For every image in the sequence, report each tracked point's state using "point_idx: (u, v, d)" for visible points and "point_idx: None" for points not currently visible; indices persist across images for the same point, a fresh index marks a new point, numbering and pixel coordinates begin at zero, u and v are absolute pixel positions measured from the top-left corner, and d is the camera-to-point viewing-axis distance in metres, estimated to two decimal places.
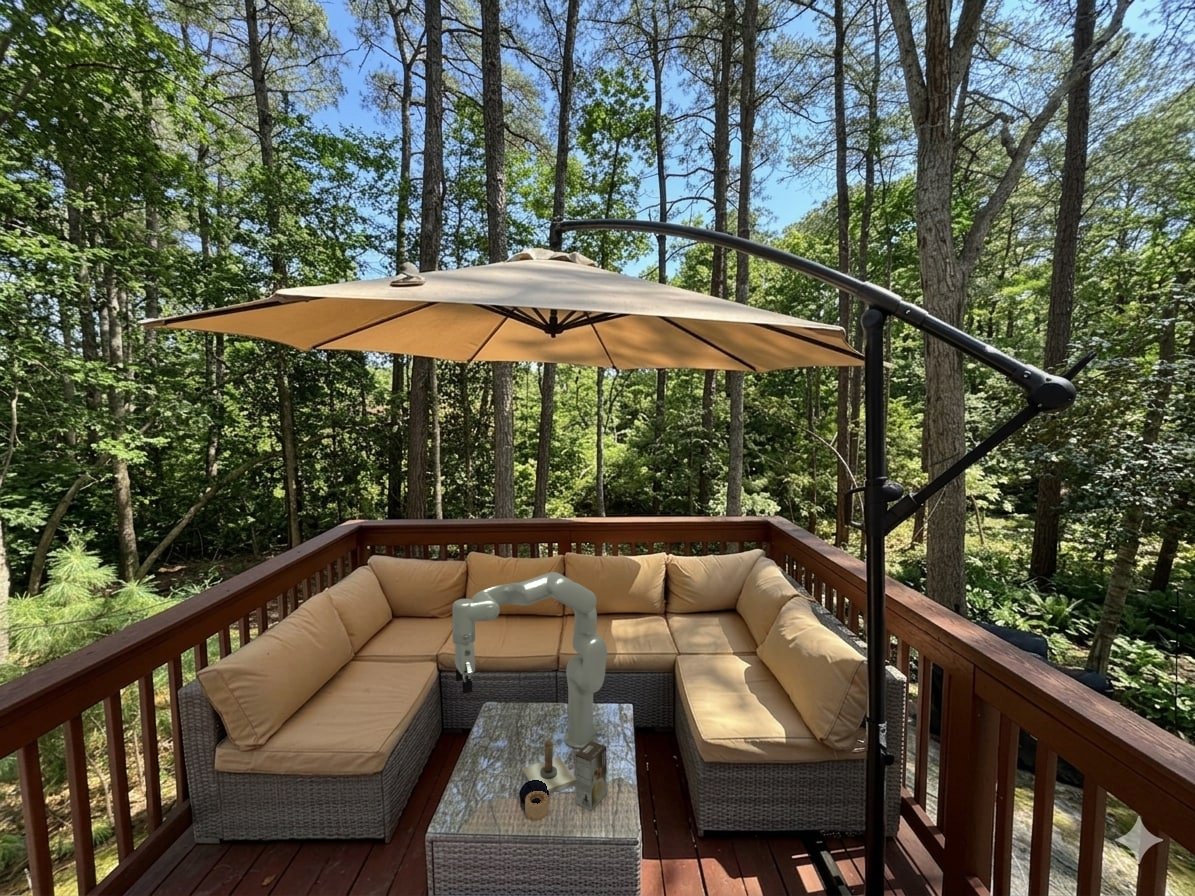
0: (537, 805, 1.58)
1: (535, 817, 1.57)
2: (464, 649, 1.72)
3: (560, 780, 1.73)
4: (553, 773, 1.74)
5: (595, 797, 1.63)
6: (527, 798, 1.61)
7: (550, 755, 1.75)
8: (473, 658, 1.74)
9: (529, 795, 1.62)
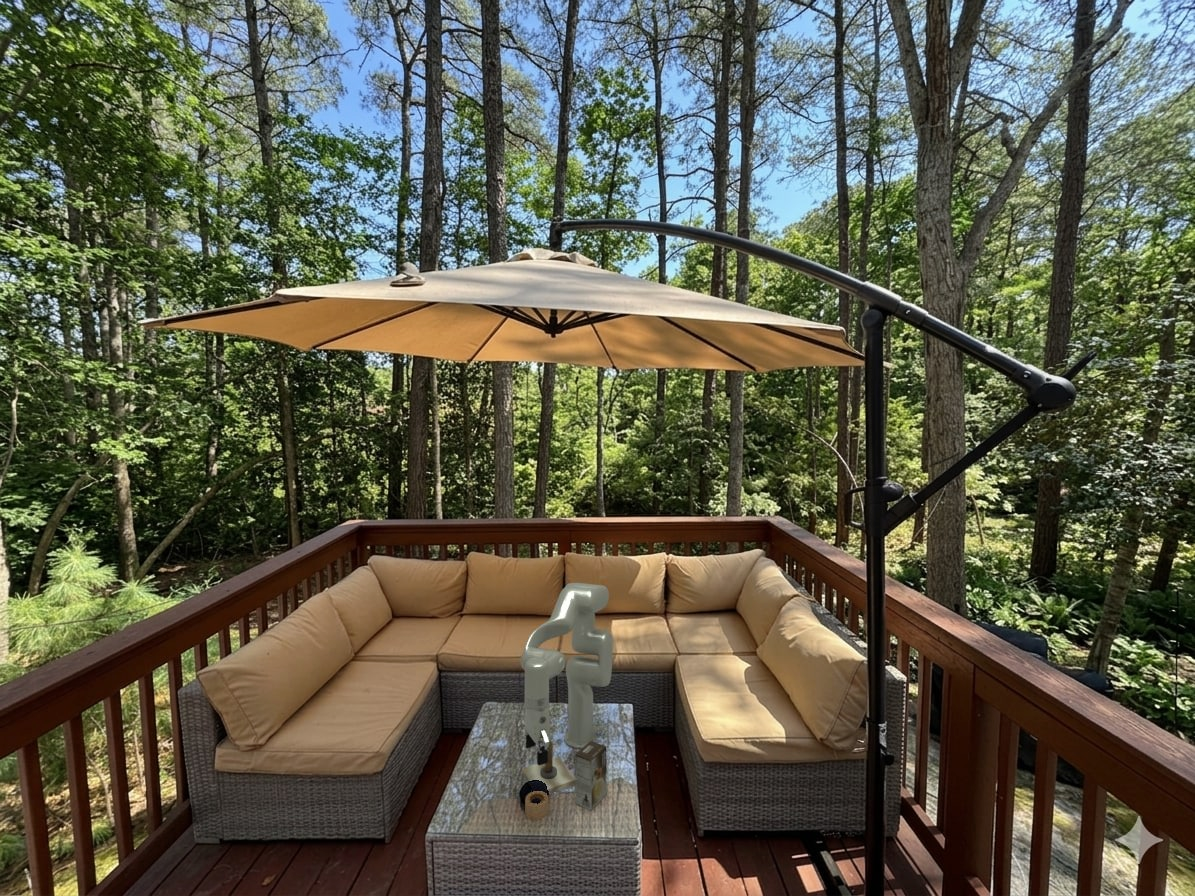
0: (537, 805, 1.58)
1: (535, 817, 1.57)
2: (539, 716, 1.56)
3: (560, 780, 1.73)
4: (553, 773, 1.74)
5: (595, 797, 1.63)
6: (527, 798, 1.61)
7: (550, 755, 1.75)
8: (548, 725, 1.57)
9: (529, 795, 1.62)
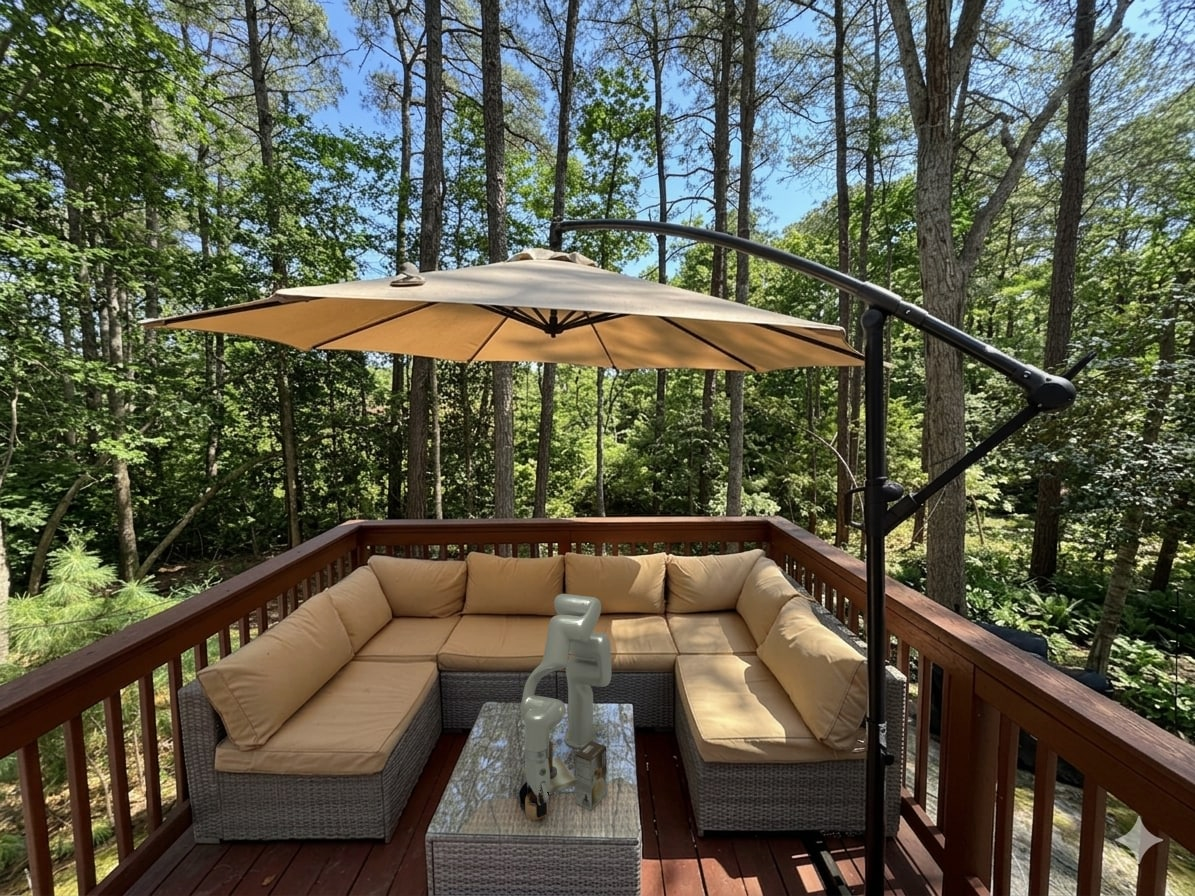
0: None
1: (535, 817, 1.57)
2: (539, 768, 1.56)
3: (560, 780, 1.73)
4: (553, 773, 1.74)
5: (595, 797, 1.63)
6: (527, 798, 1.61)
7: (550, 755, 1.75)
8: (549, 777, 1.57)
9: (529, 795, 1.62)
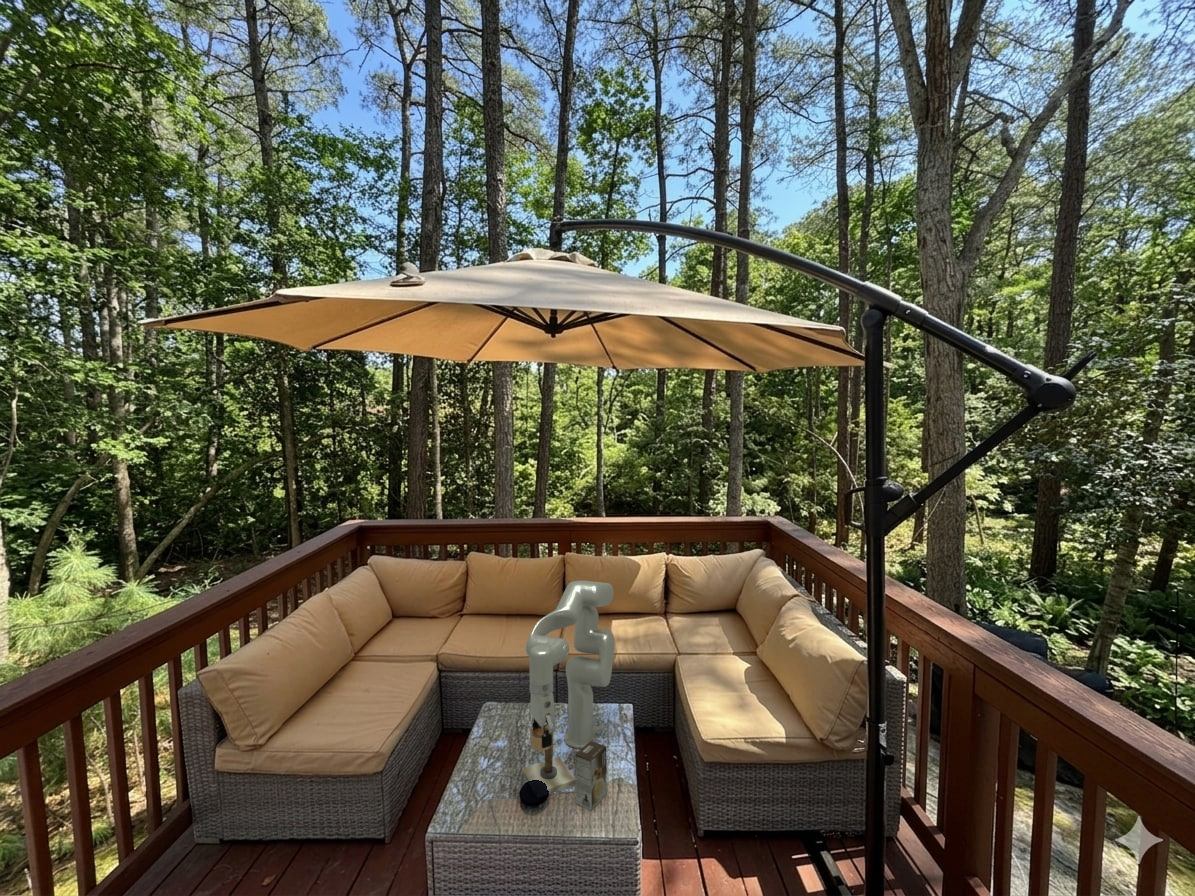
0: None
1: (540, 748, 1.63)
2: (544, 701, 1.61)
3: (560, 780, 1.73)
4: (553, 773, 1.74)
5: (595, 797, 1.63)
6: (532, 731, 1.66)
7: (550, 755, 1.75)
8: (553, 709, 1.63)
9: (534, 729, 1.67)
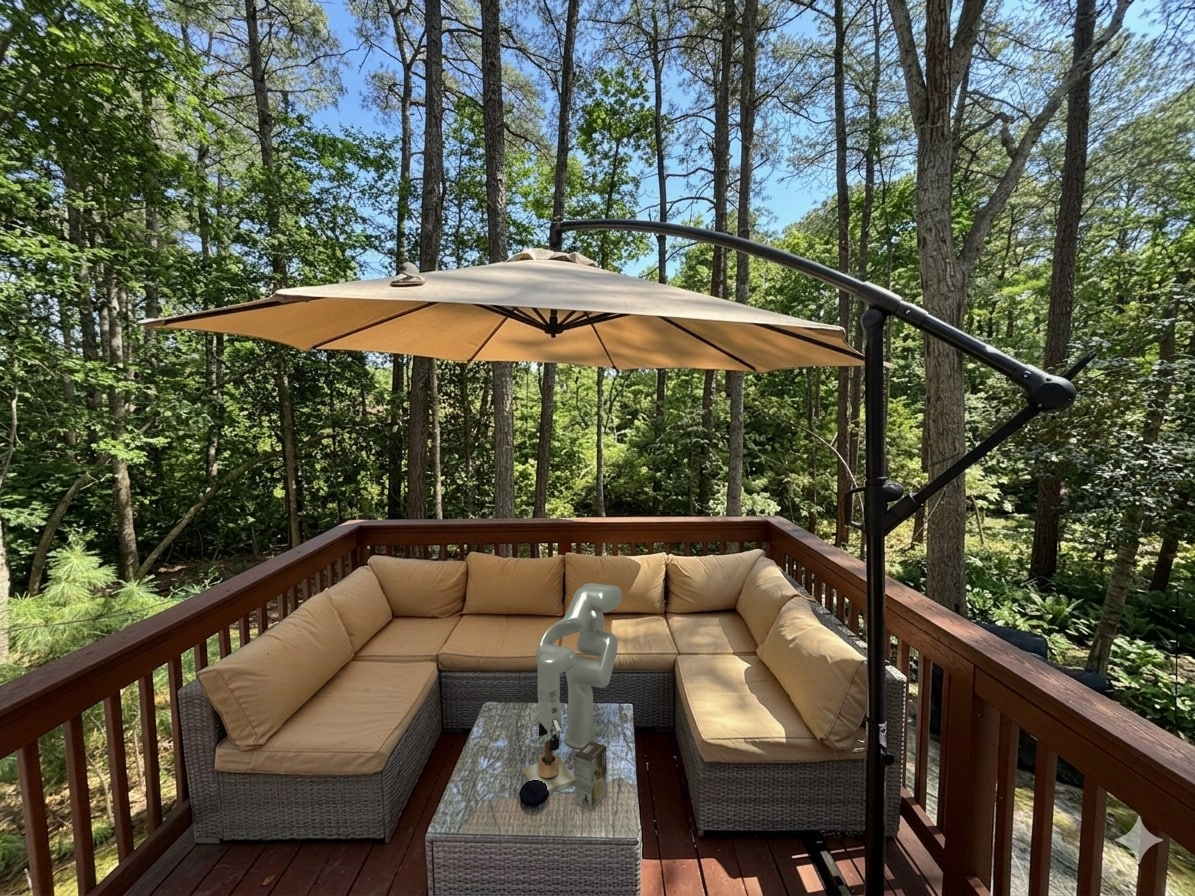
0: (549, 764, 1.73)
1: (547, 775, 1.72)
2: (551, 706, 1.71)
3: (560, 780, 1.73)
4: None
5: (595, 797, 1.63)
6: (540, 759, 1.76)
7: (550, 755, 1.75)
8: (560, 715, 1.72)
9: (541, 756, 1.77)
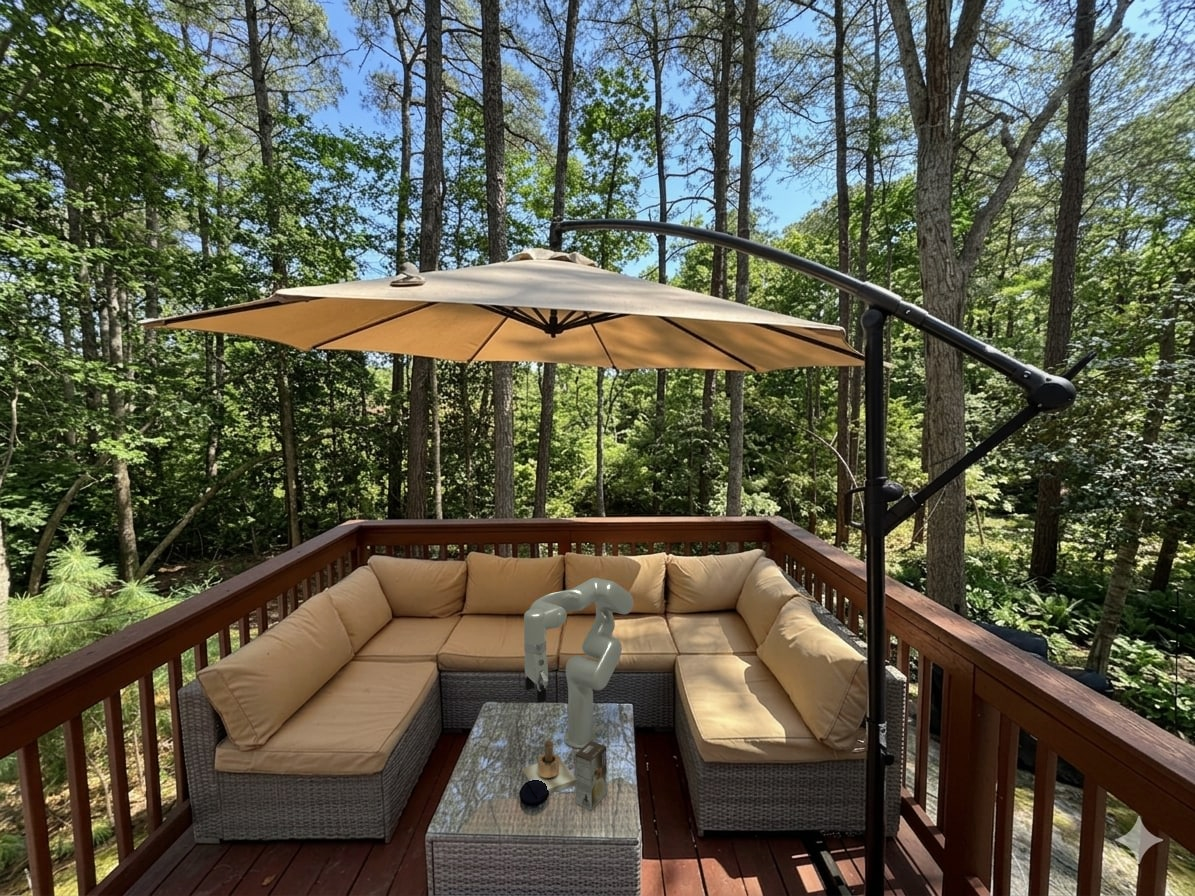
0: (549, 764, 1.73)
1: (547, 775, 1.72)
2: (538, 659, 1.75)
3: (560, 780, 1.73)
4: None
5: (595, 797, 1.63)
6: (540, 759, 1.76)
7: (550, 755, 1.75)
8: (546, 667, 1.76)
9: (541, 756, 1.77)
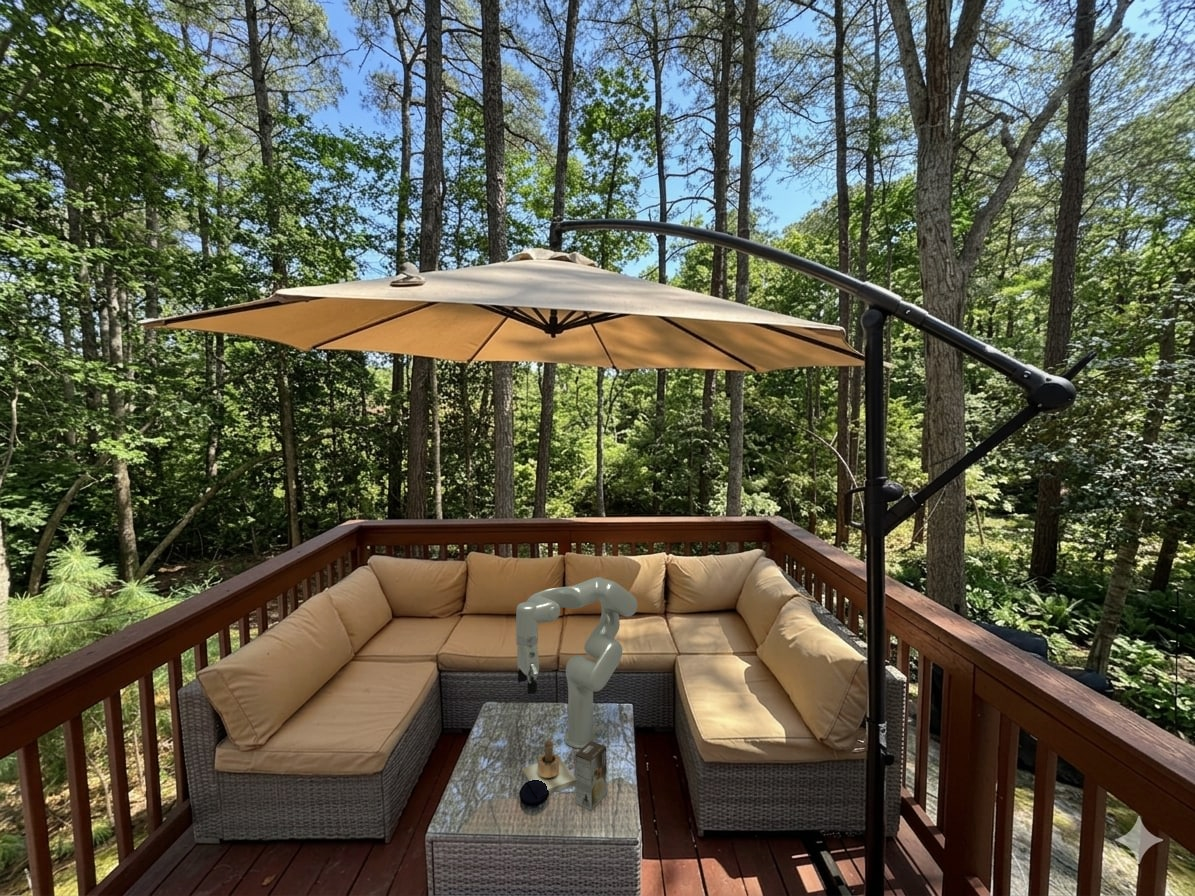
0: (549, 764, 1.73)
1: (547, 775, 1.72)
2: (529, 651, 1.77)
3: (560, 780, 1.73)
4: None
5: (595, 797, 1.63)
6: (540, 759, 1.76)
7: (550, 755, 1.75)
8: (537, 660, 1.79)
9: (541, 756, 1.77)
